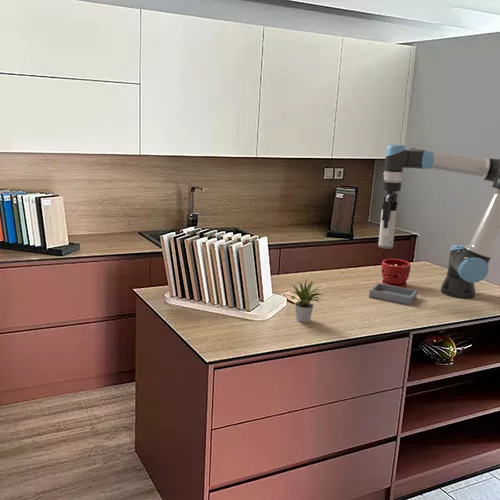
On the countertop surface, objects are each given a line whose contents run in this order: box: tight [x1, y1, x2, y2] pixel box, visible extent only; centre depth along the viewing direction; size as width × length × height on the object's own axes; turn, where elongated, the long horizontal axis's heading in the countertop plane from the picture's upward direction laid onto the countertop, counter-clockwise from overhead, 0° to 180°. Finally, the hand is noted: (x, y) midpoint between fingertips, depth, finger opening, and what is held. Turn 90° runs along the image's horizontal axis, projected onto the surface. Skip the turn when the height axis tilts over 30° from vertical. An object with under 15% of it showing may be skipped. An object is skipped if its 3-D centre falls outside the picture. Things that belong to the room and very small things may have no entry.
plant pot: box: [381, 258, 412, 288], centre depth 266 cm, size 13×13×12 cm
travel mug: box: [378, 201, 399, 250], centre depth 245 cm, size 6×7×20 cm
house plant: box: [289, 278, 325, 323], centre depth 214 cm, size 14×14×16 cm
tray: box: [368, 282, 418, 307], centre depth 250 cm, size 18×13×4 cm
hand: (387, 233), depth 246 cm, fingers closed on travel mug, 6 cm apart
